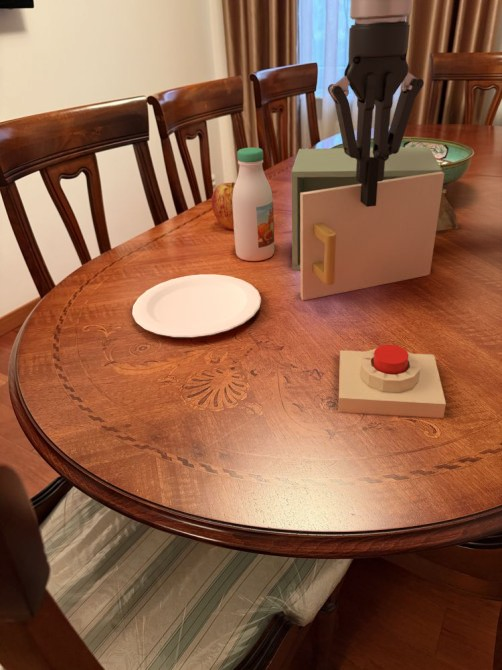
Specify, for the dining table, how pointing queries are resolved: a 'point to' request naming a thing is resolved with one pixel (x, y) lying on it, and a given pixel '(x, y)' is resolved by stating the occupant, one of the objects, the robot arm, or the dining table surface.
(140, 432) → the dining table surface
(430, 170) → the cupboard
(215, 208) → the apple
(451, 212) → the rock
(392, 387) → the button base
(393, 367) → the button
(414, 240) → the door
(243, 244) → the milk bottle
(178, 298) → the plate
